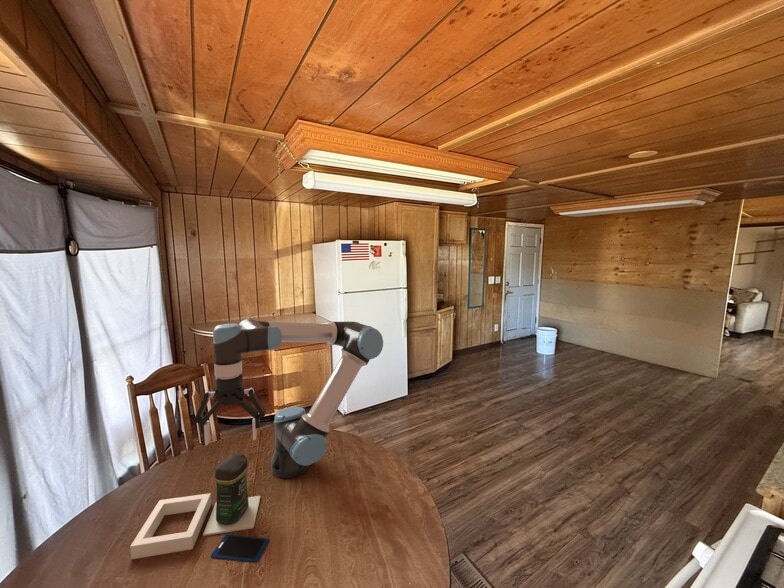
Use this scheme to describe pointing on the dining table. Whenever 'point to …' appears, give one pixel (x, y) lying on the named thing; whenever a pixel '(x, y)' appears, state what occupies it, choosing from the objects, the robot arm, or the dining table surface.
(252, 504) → the beige board
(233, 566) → the dining table surface
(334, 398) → the robot arm
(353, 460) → the dining table surface
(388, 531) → the dining table surface
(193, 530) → the cream open rectangular frame
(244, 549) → the cell phone
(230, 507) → the coffee jar
